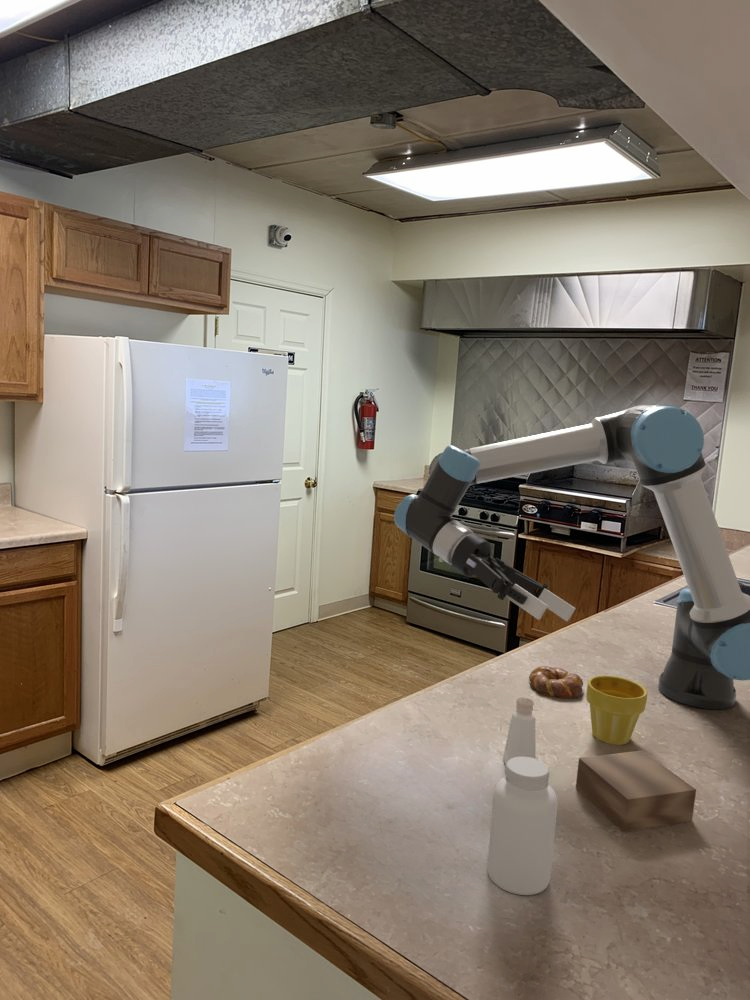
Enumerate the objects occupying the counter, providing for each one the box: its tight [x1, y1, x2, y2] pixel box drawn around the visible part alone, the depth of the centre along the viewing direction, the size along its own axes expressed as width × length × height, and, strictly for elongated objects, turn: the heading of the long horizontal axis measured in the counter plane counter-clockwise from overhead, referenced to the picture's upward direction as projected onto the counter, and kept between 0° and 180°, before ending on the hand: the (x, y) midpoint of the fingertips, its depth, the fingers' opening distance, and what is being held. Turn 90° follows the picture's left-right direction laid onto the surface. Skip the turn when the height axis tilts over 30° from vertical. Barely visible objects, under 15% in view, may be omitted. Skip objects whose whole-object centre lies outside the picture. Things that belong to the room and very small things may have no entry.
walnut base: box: [575, 750, 697, 833], centre depth 112 cm, size 12×12×5 cm
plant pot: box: [585, 674, 648, 746], centre depth 133 cm, size 10×10×10 cm
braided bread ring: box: [528, 665, 584, 699], centre depth 155 cm, size 12×11×4 cm
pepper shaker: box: [502, 697, 537, 765], centre depth 122 cm, size 5×5×11 cm
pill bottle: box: [487, 757, 559, 896], centre depth 92 cm, size 8×8×15 cm
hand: (558, 613), depth 124 cm, fingers open, 13 cm apart
